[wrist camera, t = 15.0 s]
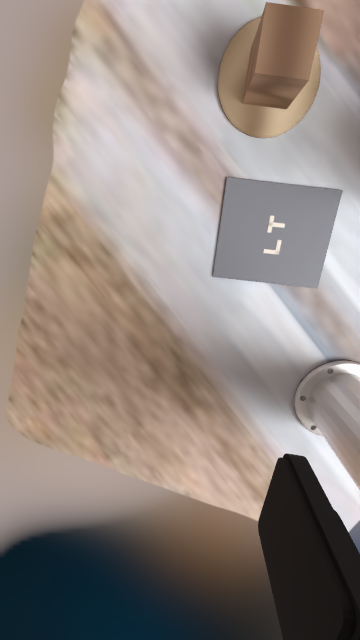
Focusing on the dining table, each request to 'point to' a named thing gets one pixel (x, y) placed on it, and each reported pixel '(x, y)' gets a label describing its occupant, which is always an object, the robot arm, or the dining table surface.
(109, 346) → the dining table surface
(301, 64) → the walnut block
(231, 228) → the gray tile
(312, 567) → the robot arm
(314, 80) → the coaster
